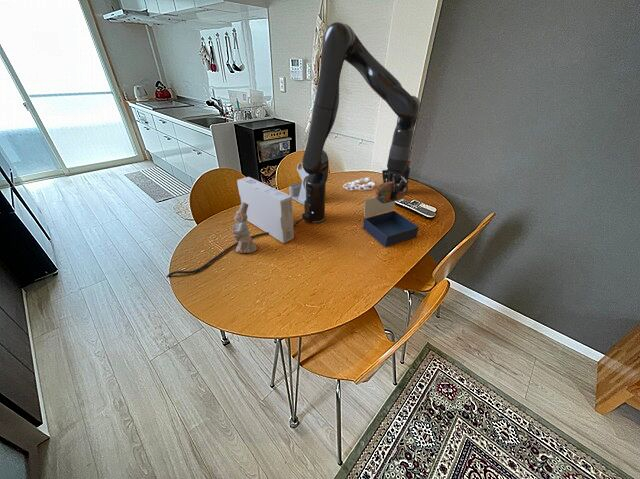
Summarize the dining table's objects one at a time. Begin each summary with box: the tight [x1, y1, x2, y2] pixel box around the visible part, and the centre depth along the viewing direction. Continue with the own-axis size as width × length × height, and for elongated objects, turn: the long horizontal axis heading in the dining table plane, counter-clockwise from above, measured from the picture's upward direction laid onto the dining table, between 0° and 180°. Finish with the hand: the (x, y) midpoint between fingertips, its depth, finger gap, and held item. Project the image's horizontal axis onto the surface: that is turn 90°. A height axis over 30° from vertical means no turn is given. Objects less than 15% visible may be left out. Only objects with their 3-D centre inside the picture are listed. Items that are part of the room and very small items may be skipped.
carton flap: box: [363, 196, 396, 218], centre depth 119 cm, size 18×8×1 cm
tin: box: [374, 181, 409, 203], centre depth 106 cm, size 15×3×8 cm, turn 116°
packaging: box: [236, 176, 295, 244], centre depth 114 cm, size 30×6×20 cm, turn 47°
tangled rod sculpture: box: [342, 176, 377, 192], centre depth 159 cm, size 19×14×4 cm
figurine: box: [231, 202, 258, 254], centre depth 101 cm, size 9×8×20 cm
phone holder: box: [288, 162, 309, 206], centre depth 141 cm, size 17×10×18 cm, turn 42°
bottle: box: [404, 158, 411, 181], centre depth 149 cm, size 7×7×20 cm
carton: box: [362, 210, 420, 248], centre depth 117 cm, size 18×17×5 cm
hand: (390, 197), depth 107 cm, fingers closed on tin, 2 cm apart
